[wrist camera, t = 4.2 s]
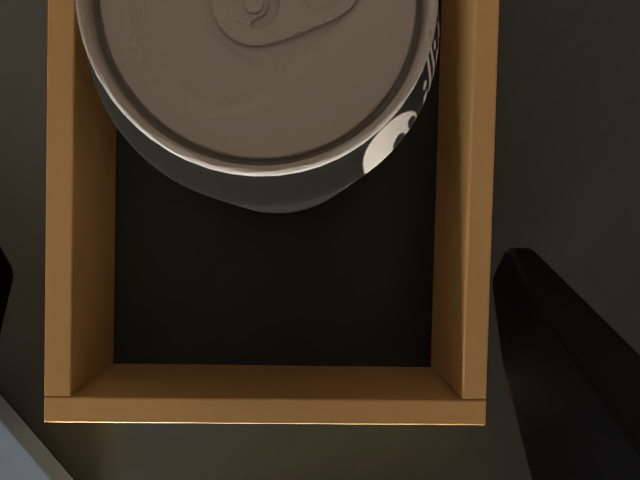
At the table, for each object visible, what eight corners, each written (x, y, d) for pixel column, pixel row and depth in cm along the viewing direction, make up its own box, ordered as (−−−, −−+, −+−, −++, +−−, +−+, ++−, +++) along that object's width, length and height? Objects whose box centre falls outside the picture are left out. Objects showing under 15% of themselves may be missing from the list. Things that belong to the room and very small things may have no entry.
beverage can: (160, 86, 20) (-33, -114, 8) (318, 9, 20) (354, -294, 8) (240, 244, 21) (165, 273, 9) (395, 167, 21) (533, 91, 9)
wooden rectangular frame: (449, 387, 21) (486, 425, 17) (92, 384, 20) (43, 422, 16) (463, -48, 21) (504, -113, 17) (97, -66, 20) (48, -138, 16)
